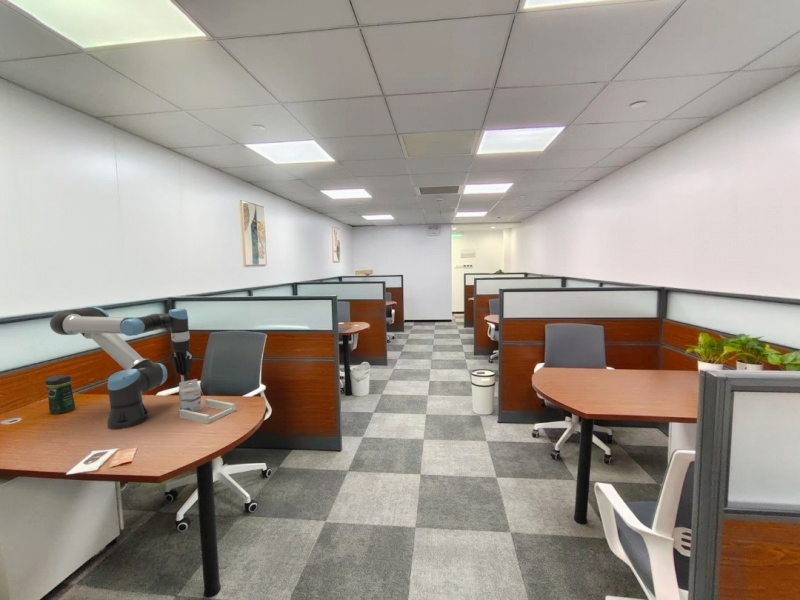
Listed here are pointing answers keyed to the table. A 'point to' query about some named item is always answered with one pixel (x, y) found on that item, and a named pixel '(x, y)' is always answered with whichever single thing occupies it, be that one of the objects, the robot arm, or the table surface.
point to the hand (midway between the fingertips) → (185, 387)
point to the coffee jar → (60, 394)
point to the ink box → (190, 395)
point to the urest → (206, 418)
